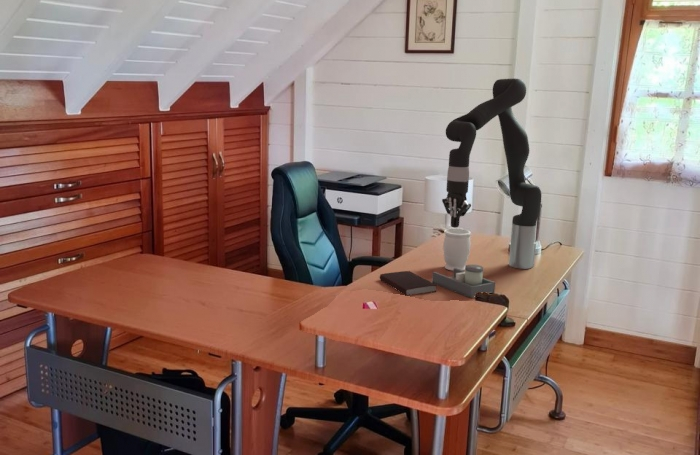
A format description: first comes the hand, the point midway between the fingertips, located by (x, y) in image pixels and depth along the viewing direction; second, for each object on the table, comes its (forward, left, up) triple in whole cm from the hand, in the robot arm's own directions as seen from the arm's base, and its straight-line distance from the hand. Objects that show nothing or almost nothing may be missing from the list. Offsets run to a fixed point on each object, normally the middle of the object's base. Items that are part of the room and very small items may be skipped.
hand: (454, 227), depth 242 cm
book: (+16, -6, -22) cm, 27 cm away
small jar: (0, +11, -20) cm, 23 cm away
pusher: (0, +7, -20) cm, 21 cm away
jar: (-15, -14, -21) cm, 30 cm away
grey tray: (0, +6, -21) cm, 22 cm away
